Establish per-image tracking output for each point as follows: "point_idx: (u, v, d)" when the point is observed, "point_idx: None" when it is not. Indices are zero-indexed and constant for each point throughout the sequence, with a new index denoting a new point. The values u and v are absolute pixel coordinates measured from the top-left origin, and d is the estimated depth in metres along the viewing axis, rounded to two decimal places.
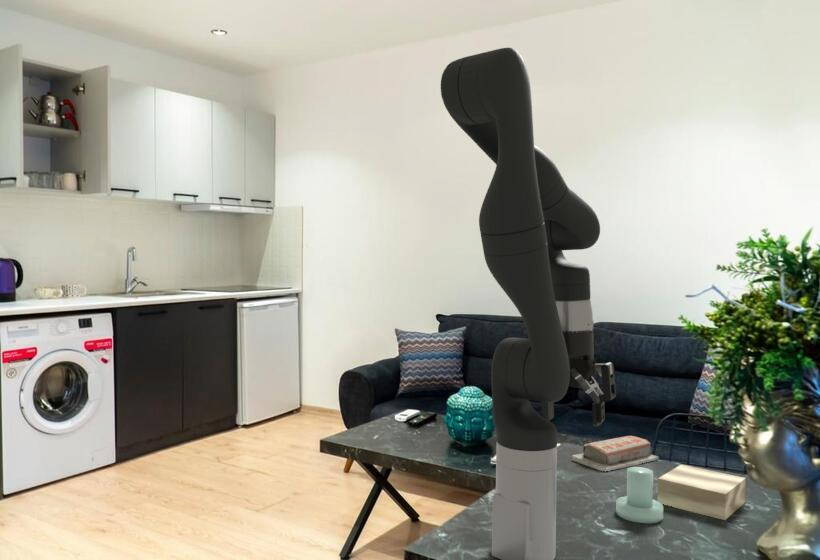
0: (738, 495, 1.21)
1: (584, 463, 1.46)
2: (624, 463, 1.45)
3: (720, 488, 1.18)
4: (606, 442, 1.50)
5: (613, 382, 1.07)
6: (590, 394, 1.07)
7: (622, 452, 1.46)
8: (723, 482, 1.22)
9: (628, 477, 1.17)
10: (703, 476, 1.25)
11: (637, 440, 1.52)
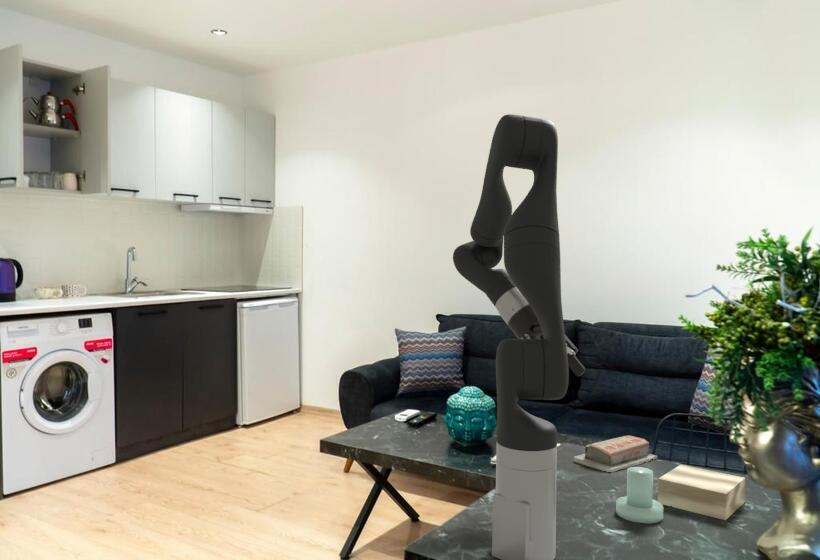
0: (738, 495, 1.21)
1: (587, 464, 1.46)
2: (626, 463, 1.45)
3: (720, 488, 1.18)
4: (607, 442, 1.49)
5: None
6: (568, 349, 1.31)
7: (624, 452, 1.46)
8: (723, 481, 1.22)
9: (628, 477, 1.17)
10: (703, 476, 1.25)
11: (636, 440, 1.52)
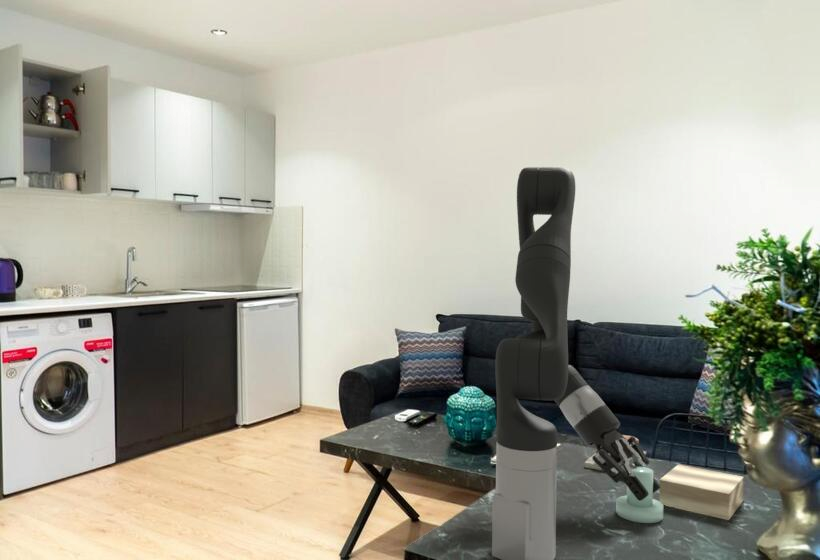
0: (738, 494, 1.21)
1: None
2: None
3: (722, 488, 1.18)
4: None
5: None
6: (639, 461, 1.20)
7: None
8: (723, 481, 1.22)
9: None
10: (702, 476, 1.25)
11: (628, 438, 1.54)
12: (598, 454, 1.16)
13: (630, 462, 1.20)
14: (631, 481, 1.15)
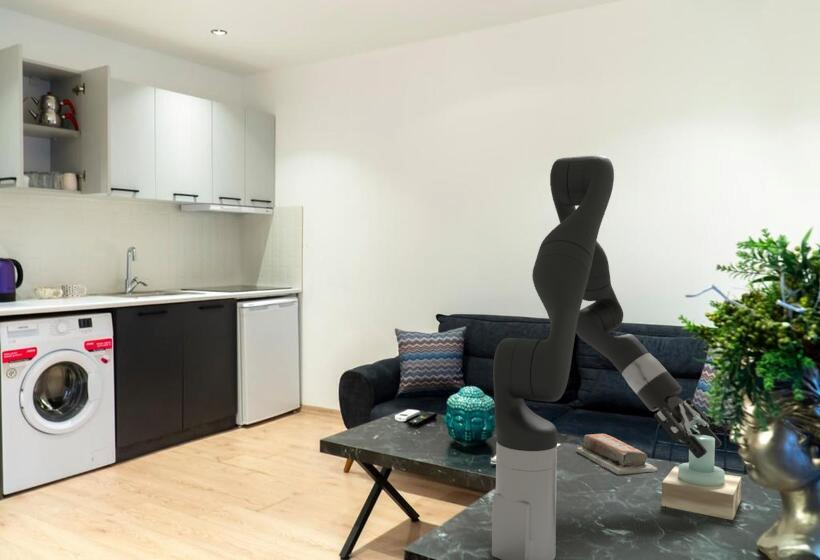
0: (738, 494, 1.22)
1: (633, 472, 1.41)
2: None
3: (725, 489, 1.18)
4: (617, 445, 1.47)
5: None
6: (701, 420, 1.27)
7: None
8: None
9: None
10: None
11: (606, 436, 1.55)
12: (660, 411, 1.22)
13: (693, 423, 1.27)
14: (690, 440, 1.20)
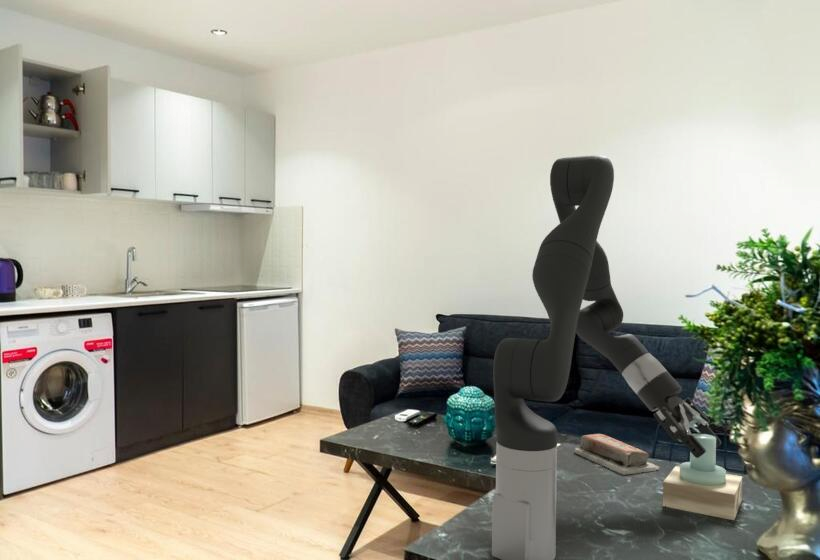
0: (739, 494, 1.22)
1: (637, 471, 1.41)
2: None
3: (726, 488, 1.18)
4: (618, 445, 1.47)
5: None
6: (701, 420, 1.27)
7: None
8: None
9: None
10: None
11: (603, 436, 1.55)
12: (659, 410, 1.22)
13: (693, 422, 1.27)
14: (689, 439, 1.20)
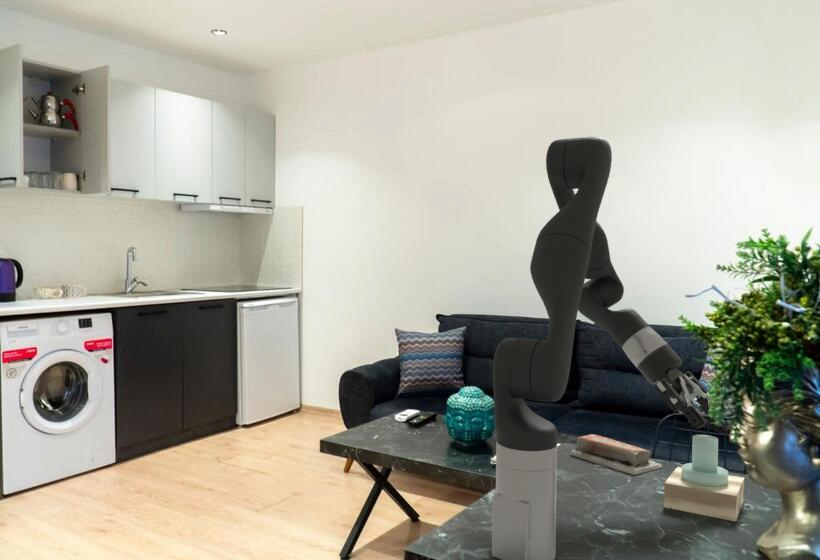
0: (741, 495, 1.21)
1: (645, 470, 1.42)
2: None
3: (728, 490, 1.18)
4: (620, 445, 1.47)
5: None
6: (701, 393, 1.27)
7: None
8: None
9: (694, 444, 1.23)
10: None
11: (598, 436, 1.55)
12: (659, 382, 1.22)
13: (693, 395, 1.27)
14: (689, 410, 1.20)
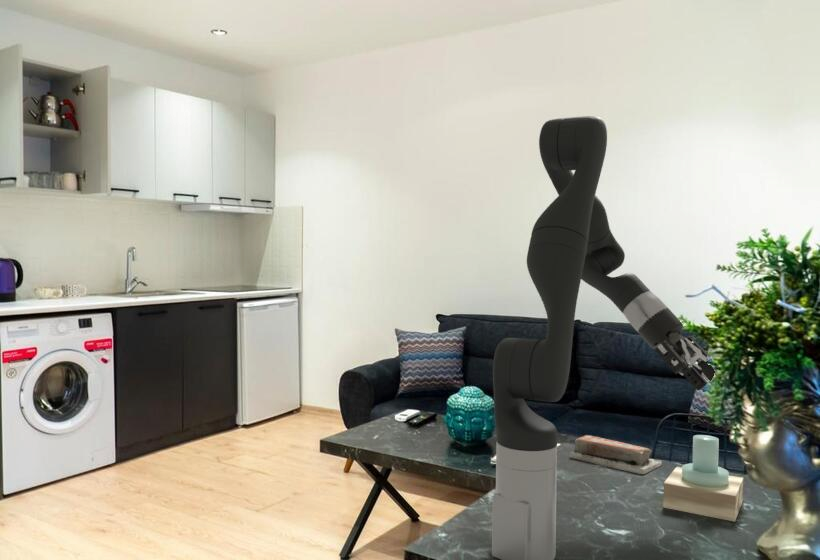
0: (740, 495, 1.21)
1: (650, 469, 1.43)
2: None
3: (727, 490, 1.18)
4: (622, 445, 1.47)
5: None
6: (702, 356, 1.27)
7: None
8: None
9: (694, 444, 1.22)
10: None
11: (594, 437, 1.54)
12: (660, 344, 1.22)
13: (694, 359, 1.27)
14: (690, 372, 1.20)
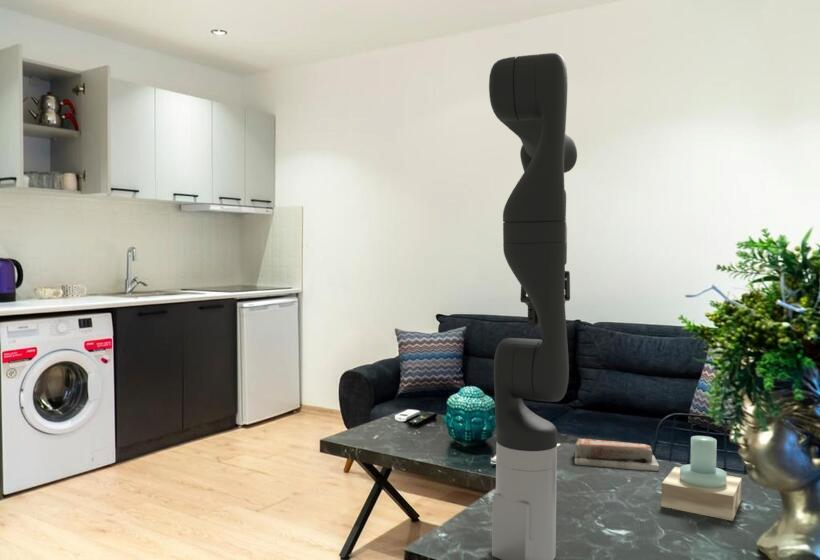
0: (738, 496, 1.21)
1: None
2: None
3: (725, 490, 1.18)
4: (625, 444, 1.48)
5: None
6: None
7: None
8: None
9: (693, 445, 1.22)
10: None
11: (589, 440, 1.52)
12: None
13: None
14: (533, 308, 1.22)
